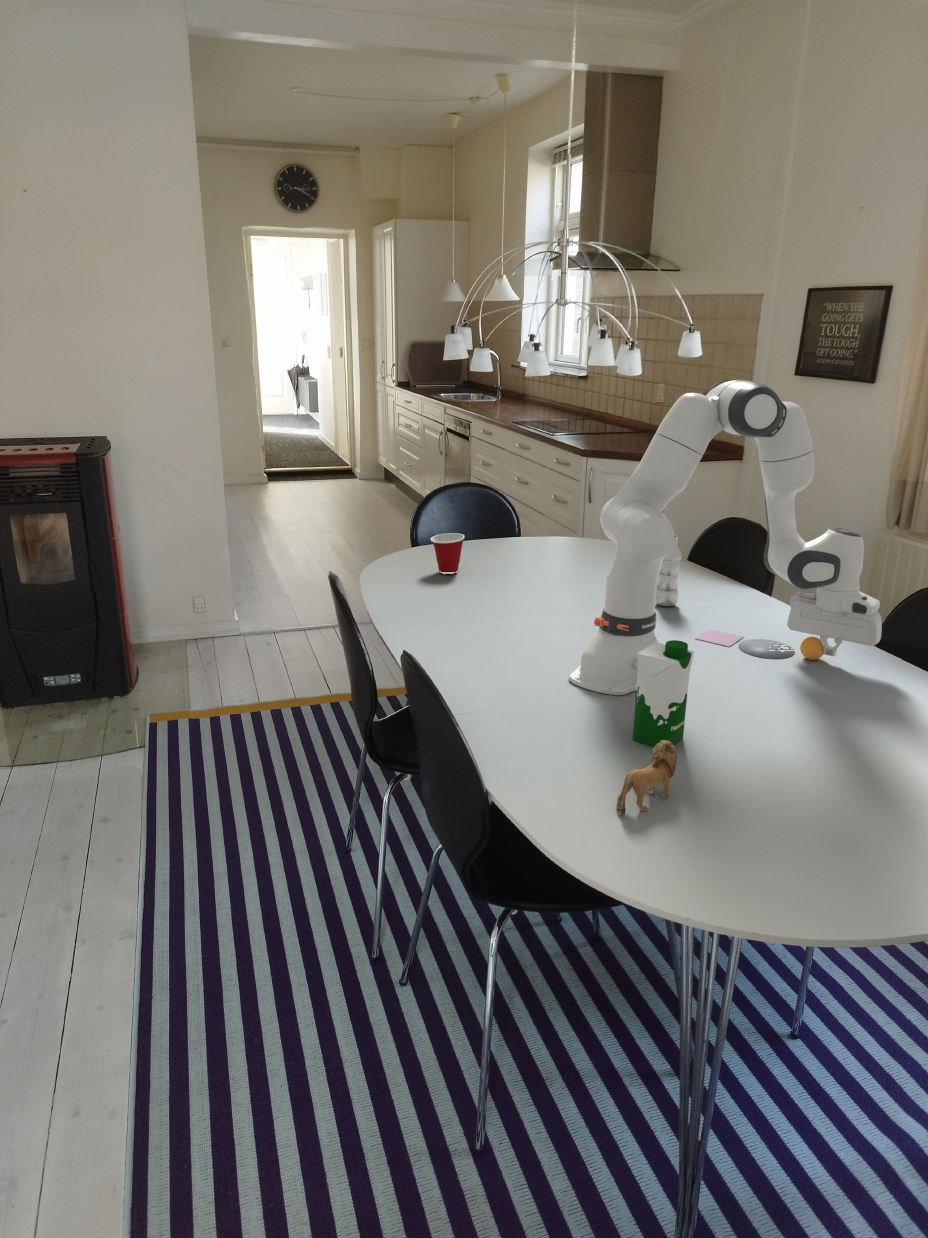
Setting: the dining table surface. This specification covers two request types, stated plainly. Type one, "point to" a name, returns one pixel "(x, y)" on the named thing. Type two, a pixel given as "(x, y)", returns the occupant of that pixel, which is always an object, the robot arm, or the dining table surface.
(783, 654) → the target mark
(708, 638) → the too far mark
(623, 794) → the lion figurine
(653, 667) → the milk carton
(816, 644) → the ball
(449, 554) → the plastic cup
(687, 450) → the robot arm
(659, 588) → the plastic bottle
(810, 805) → the dining table surface
